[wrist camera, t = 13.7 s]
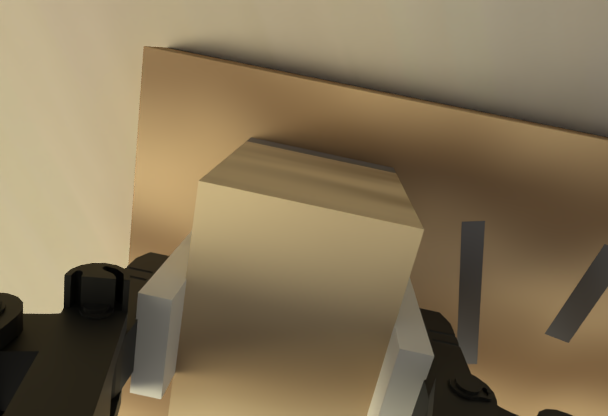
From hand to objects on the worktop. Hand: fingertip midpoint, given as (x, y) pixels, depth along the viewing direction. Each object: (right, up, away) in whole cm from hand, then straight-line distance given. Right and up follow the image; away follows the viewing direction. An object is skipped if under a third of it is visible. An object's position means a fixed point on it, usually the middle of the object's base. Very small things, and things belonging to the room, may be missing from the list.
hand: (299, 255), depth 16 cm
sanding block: (0, 0, +1) cm, 1 cm away
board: (+5, -2, +3) cm, 7 cm away
